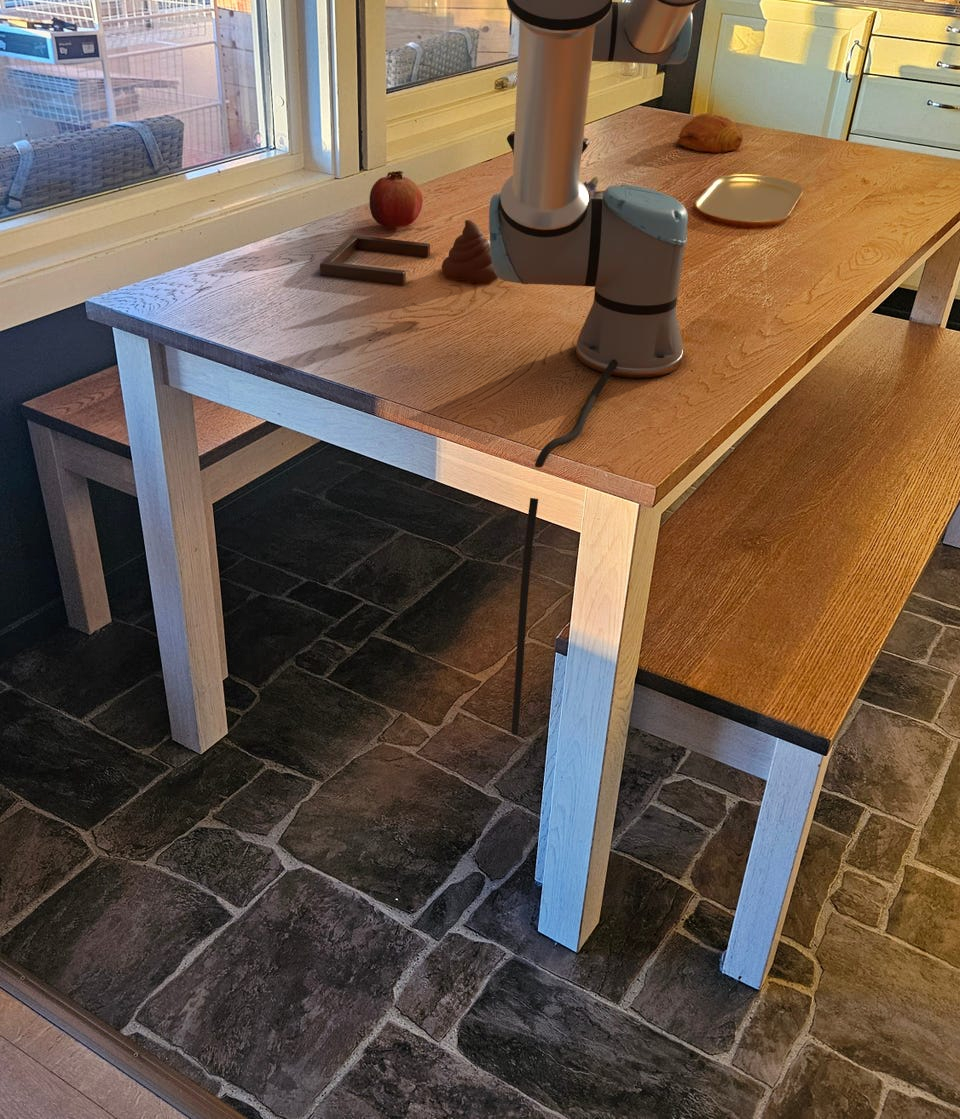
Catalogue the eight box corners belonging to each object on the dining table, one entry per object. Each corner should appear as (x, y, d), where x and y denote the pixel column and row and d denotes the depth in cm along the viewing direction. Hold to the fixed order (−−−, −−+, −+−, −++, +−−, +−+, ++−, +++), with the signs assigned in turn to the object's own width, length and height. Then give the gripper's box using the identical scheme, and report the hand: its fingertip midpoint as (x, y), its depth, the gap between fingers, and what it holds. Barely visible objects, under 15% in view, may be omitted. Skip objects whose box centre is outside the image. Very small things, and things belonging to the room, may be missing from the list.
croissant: (701, 144, 272) (703, 110, 269) (751, 149, 262) (754, 113, 258) (662, 150, 264) (664, 115, 261) (712, 155, 254) (714, 118, 250)
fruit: (389, 214, 210) (389, 161, 204) (433, 224, 206) (433, 170, 200) (357, 228, 202) (355, 173, 196) (401, 239, 198) (401, 183, 192)
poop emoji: (434, 279, 181) (435, 223, 176) (451, 263, 188) (453, 209, 183) (491, 288, 179) (493, 232, 173) (506, 272, 185) (509, 217, 180)
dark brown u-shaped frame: (403, 285, 179) (403, 273, 177) (320, 275, 181) (319, 263, 180) (430, 254, 191) (430, 243, 190) (352, 245, 194) (351, 234, 193)
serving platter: (684, 220, 213) (685, 212, 212) (722, 177, 240) (723, 170, 239) (780, 234, 208) (781, 226, 207) (807, 189, 234) (809, 181, 233)
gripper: (598, 87, 166) (584, 240, 179) (514, 80, 168) (507, 231, 182) (590, 97, 160) (576, 254, 173) (504, 90, 162) (497, 245, 176)
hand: (541, 242), depth 177 cm, fingers closed
